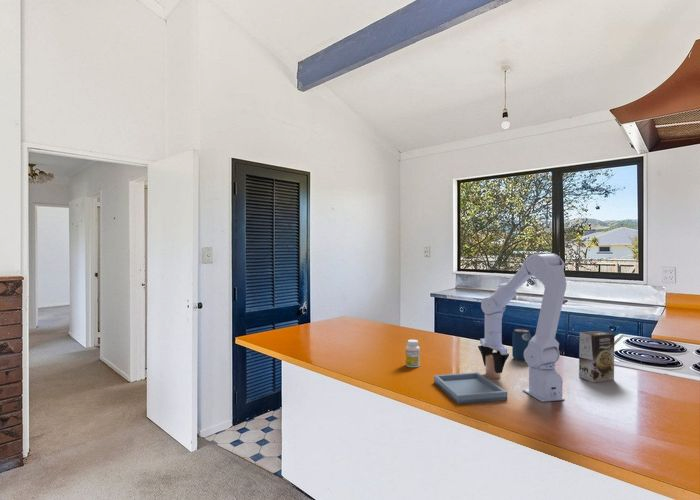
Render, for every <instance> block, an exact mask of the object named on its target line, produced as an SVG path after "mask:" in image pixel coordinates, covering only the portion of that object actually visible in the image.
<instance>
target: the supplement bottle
mask: <svg viewBox="0 0 700 500" xmlns="http://www.w3.org/2000/svg"><path fill="white" fill-rule="evenodd" d="M420 350H421V348H420V346H419V340H418V339H408V340H407V345H406V346H405V365H406V367H408V368H419V367H420V366H421V351H420Z"/></svg>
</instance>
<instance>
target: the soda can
mask: <svg viewBox="0 0 700 500" xmlns="http://www.w3.org/2000/svg"><path fill="white" fill-rule="evenodd" d="M531 339H532V335H531V332H530V330H529V329H526V328H514V329H513V332H512V340H511V341H512V342H511V343H512V344H511V345H512V349H511V350H512V351H511V353H512V358H513V359H514V360H515V361H517V362H525V363H527V362H526V361H525V359H524V350H525V349H526V348H527V346H528V344H529V341H530V340H531Z"/></svg>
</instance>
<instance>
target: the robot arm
mask: <svg viewBox="0 0 700 500" xmlns="http://www.w3.org/2000/svg"><path fill="white" fill-rule="evenodd" d="M565 265H566V264H565V262H564V261H563V259H562V257H560V256H559V255H558V254H557V253H547V254H545V253H544V254H543V253H542V254H537V253H534V254H530V255H529V256H528V257H527V258H526V259H525V260H524V261H523V262H522V265H521V267H520V268H519V269H518V270H517V272H516V273H515V274H514V275H513V276H512V277H511V279H510V280H509V281H508V282H505V283H504V282H503V283H499V285H498V286H497V287H498V288H497V289H495V291H494V292H492V293H491V294H490V296H488V297H484V298H483V299H482V300H481V303H480V308H481V310H482V312H483V313H484V337H483V338H479V341H480V342H479V343H480V345H478V346H477V348H478V350H479V352H480V354H481V355H480V356H481V357H482V362H483V365H484V366H485V367H486V355H492V356H493V359H494V365H495V372H496V373H501V374H503V370H504V367H505V363H506V361H507V359H508V358H509V356H510V354H509V353H508V348H506V347H505V346H504V345H503V343H502V342H503V341H502V340H503V338H502V337H503V336H502V335H503V334H502V329H503V327H502V326H503V325H502V322H503V319H502V318H503V317H504V312H505V311H506V308H507V307H506V306H507V305H508V304H509V303H510V302H511V301H512V300H513V299H514V298H515V297H516V296H517V290H518V289H519V288H521V286H523V285H524V284H525V283H526V282H527V281H528V280H529V279H530V278H532V277H535V278H536V279H537V280H538V281H540V282H541V283H542V285H543V286H544V291H543V296H542V300H541V306H540V311H539V313H538V314H539V315H538V320H537V325H536V330H535V334H534V335H533V336H532V337H531V340H530V341H529V344H528V346H527V348H526V349H525V350H524V359H525V361H526V362H525V363H527V367H528V387H525V388H522V391H523V392H525V393H526V394H528V395H530V396H532V397H533V398H535V399H536V400H538V401H539V402H542V403H544V402H553V401H565V397H564V396H563V378H562V376H561V375H560V374H559V373H558V372H557V370H556V368H555V366H556V363H557V362H558V361H559V360H560V355H561V353H560V350H559V347H560V342H558V340H557V339H556V337H557V336H556V334H557V330H558V326H559V321H560V316H561V312H562V307H563V303H564V298H565V293H566V289H567V279H566V278H567V277H566V275H565V271H564V269H565ZM494 351H496V352H494Z"/></svg>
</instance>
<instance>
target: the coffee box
mask: <svg viewBox="0 0 700 500" xmlns="http://www.w3.org/2000/svg"><path fill="white" fill-rule="evenodd" d="M578 345H579V348H578V349H579V350H578V353H579V355H578V356H579V357H578V377H579V378H582V379H583V380H586V381H587V382H588V381H589V382H591V383H594V384H595V383H601V382H611V381H614V380H615V333H611V332H606V331H602V330H601V331H600V330H594V331H593V330H592V331H589V330H588V331H580V332H579V344H578Z"/></svg>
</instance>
